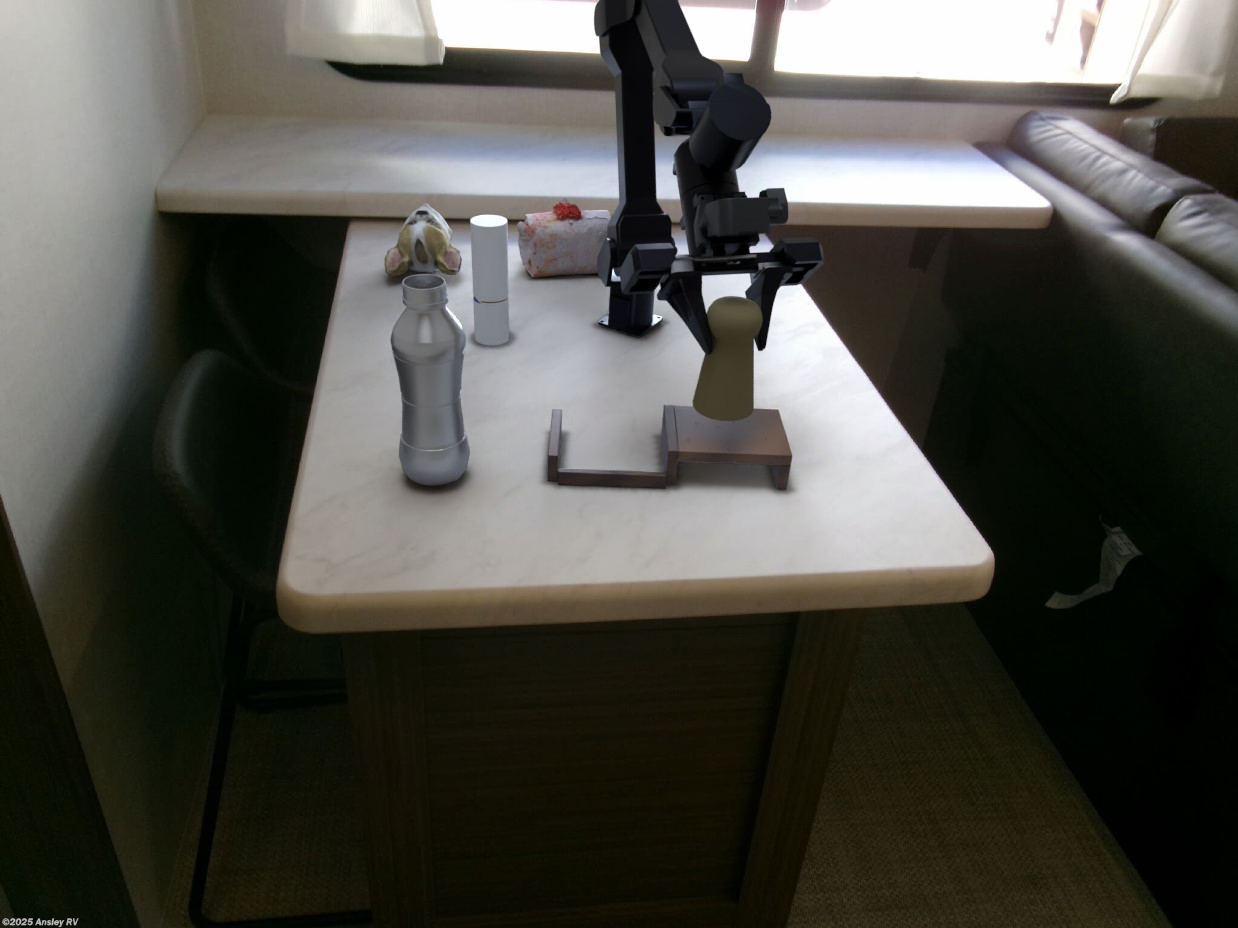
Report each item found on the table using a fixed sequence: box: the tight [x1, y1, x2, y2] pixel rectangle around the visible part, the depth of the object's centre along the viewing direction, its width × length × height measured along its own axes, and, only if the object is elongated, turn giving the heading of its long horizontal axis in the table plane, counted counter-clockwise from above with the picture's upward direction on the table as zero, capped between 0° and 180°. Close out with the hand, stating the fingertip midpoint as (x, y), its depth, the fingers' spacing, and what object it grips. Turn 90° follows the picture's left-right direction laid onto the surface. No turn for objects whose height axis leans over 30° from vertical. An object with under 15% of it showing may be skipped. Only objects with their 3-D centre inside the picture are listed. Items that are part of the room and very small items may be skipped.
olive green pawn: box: [691, 295, 763, 421], centre depth 90 cm, size 6×6×11 cm
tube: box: [469, 214, 510, 346], centre depth 115 cm, size 4×4×15 cm
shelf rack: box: [546, 404, 793, 490], centre depth 95 cm, size 24×10×4 cm, turn 90°
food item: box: [516, 197, 613, 278], centre depth 136 cm, size 14×8×10 cm, turn 104°
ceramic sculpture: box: [383, 202, 463, 277], centre depth 135 cm, size 11×9×15 cm
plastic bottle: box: [390, 273, 471, 487], centre depth 87 cm, size 6×7×20 cm
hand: (735, 351), depth 88 cm, fingers closed on olive green pawn, 5 cm apart
